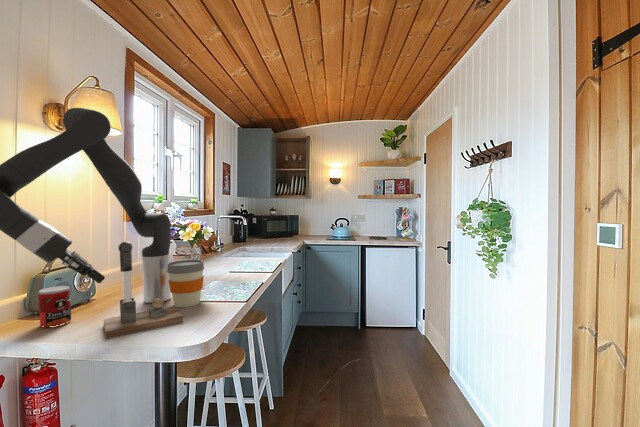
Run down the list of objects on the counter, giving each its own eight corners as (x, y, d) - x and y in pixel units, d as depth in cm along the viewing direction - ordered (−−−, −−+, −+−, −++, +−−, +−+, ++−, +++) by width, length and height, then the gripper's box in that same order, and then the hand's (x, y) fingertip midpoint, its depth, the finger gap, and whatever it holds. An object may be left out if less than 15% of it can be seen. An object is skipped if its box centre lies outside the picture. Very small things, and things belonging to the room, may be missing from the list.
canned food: (46, 330, 98) (44, 293, 97) (35, 325, 102) (33, 290, 101) (76, 322, 104) (74, 287, 104) (65, 317, 108) (63, 284, 108)
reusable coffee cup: (178, 298, 128) (176, 260, 128) (210, 298, 128) (208, 259, 127) (161, 308, 116) (160, 266, 115) (196, 308, 115) (195, 265, 115)
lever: (120, 308, 99) (117, 241, 98) (134, 305, 101) (131, 240, 100) (121, 311, 96) (118, 242, 95) (135, 308, 98) (132, 241, 97)
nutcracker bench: (103, 325, 100) (102, 299, 100) (174, 312, 112) (173, 288, 111) (105, 338, 90) (104, 309, 90) (182, 322, 102) (182, 296, 102)
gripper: (55, 232, 83) (114, 273, 91) (58, 229, 94) (111, 266, 102) (28, 255, 80) (91, 296, 88) (35, 249, 91) (91, 286, 99)
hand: (102, 280), depth 95 cm, fingers closed
